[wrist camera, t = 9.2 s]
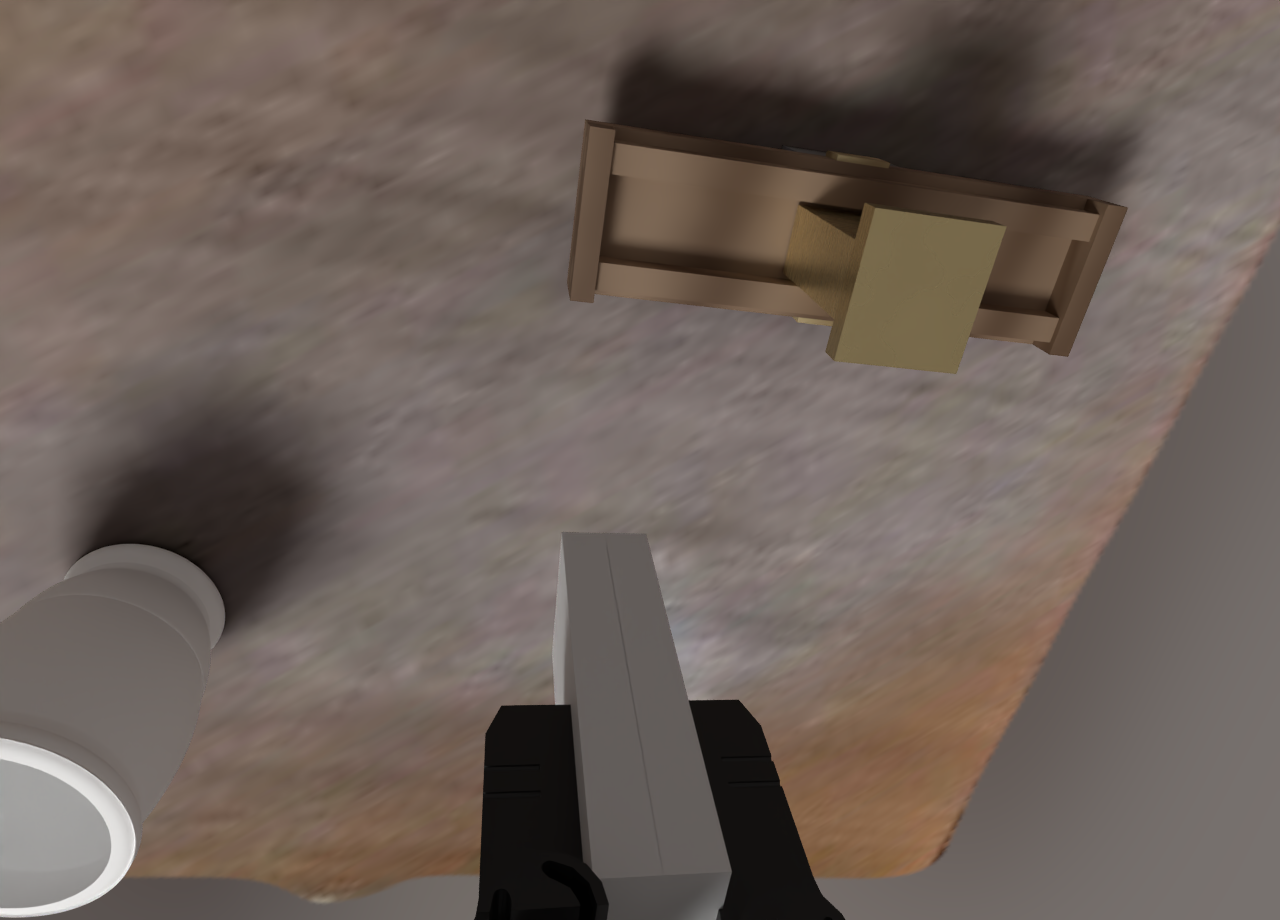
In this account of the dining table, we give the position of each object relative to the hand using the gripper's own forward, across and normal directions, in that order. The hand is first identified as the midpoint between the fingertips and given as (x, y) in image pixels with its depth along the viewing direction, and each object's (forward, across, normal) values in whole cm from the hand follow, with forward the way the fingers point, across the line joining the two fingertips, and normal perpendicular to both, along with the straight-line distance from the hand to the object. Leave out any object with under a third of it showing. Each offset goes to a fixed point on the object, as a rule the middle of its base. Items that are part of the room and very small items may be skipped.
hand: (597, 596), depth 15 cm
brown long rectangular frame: (+28, +13, +2) cm, 31 cm away
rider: (+24, +13, +2) cm, 27 cm away
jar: (+28, -21, -22) cm, 41 cm away
